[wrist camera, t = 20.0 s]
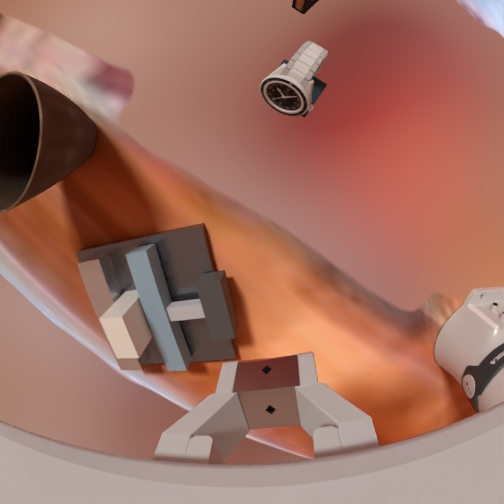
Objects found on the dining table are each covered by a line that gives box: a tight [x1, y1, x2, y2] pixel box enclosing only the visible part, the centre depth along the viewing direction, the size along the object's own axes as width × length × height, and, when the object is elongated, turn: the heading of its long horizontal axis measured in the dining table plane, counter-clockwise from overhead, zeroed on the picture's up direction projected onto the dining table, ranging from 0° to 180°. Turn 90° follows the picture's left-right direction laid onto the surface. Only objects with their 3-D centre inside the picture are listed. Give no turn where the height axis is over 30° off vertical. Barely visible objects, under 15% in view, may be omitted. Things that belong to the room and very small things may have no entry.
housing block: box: [99, 290, 153, 358], centre depth 38 cm, size 4×6×8 cm, turn 11°
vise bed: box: [77, 223, 237, 370], centre depth 40 cm, size 20×20×4 cm
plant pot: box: [0, 71, 96, 213], centre depth 28 cm, size 15×15×16 cm
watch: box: [260, 41, 328, 117], centre depth 27 cm, size 6×8×11 cm
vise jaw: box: [125, 243, 238, 371], centre depth 39 cm, size 11×18×3 cm, turn 11°
